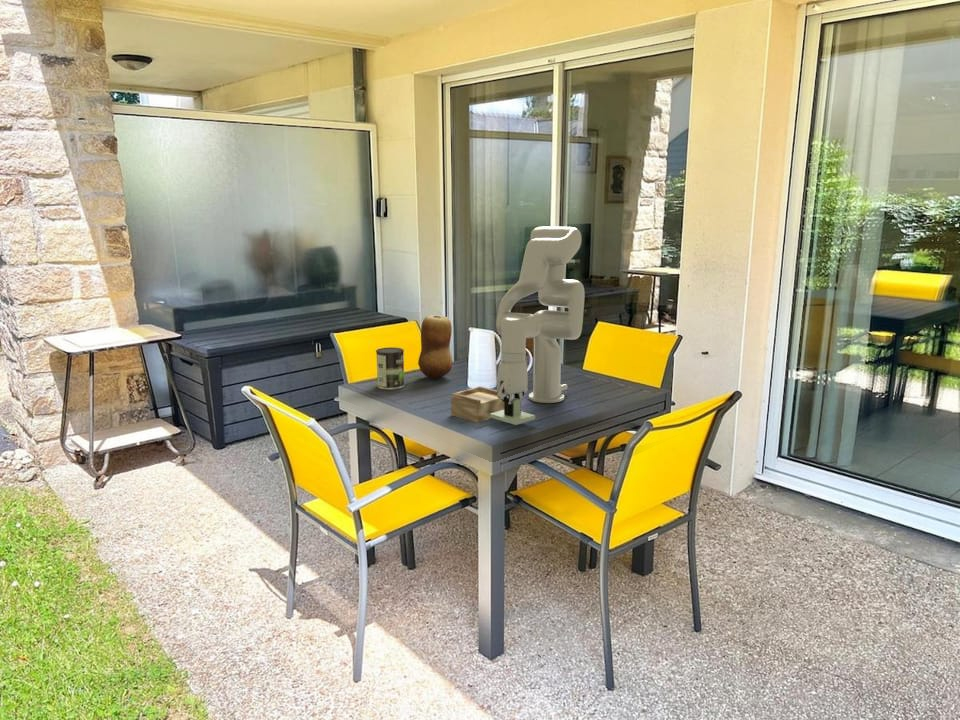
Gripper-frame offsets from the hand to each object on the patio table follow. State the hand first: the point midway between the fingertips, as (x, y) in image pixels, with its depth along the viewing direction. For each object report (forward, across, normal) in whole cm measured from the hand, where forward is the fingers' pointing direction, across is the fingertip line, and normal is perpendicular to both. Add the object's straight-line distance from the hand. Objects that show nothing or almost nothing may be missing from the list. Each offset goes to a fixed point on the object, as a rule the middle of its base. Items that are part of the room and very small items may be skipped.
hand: (512, 413), depth 222 cm
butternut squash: (+3, -22, -61) cm, 65 cm away
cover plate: (+1, 0, 0) cm, 1 cm away
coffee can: (+3, -2, -64) cm, 64 cm away
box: (+3, 0, -15) cm, 15 cm away
